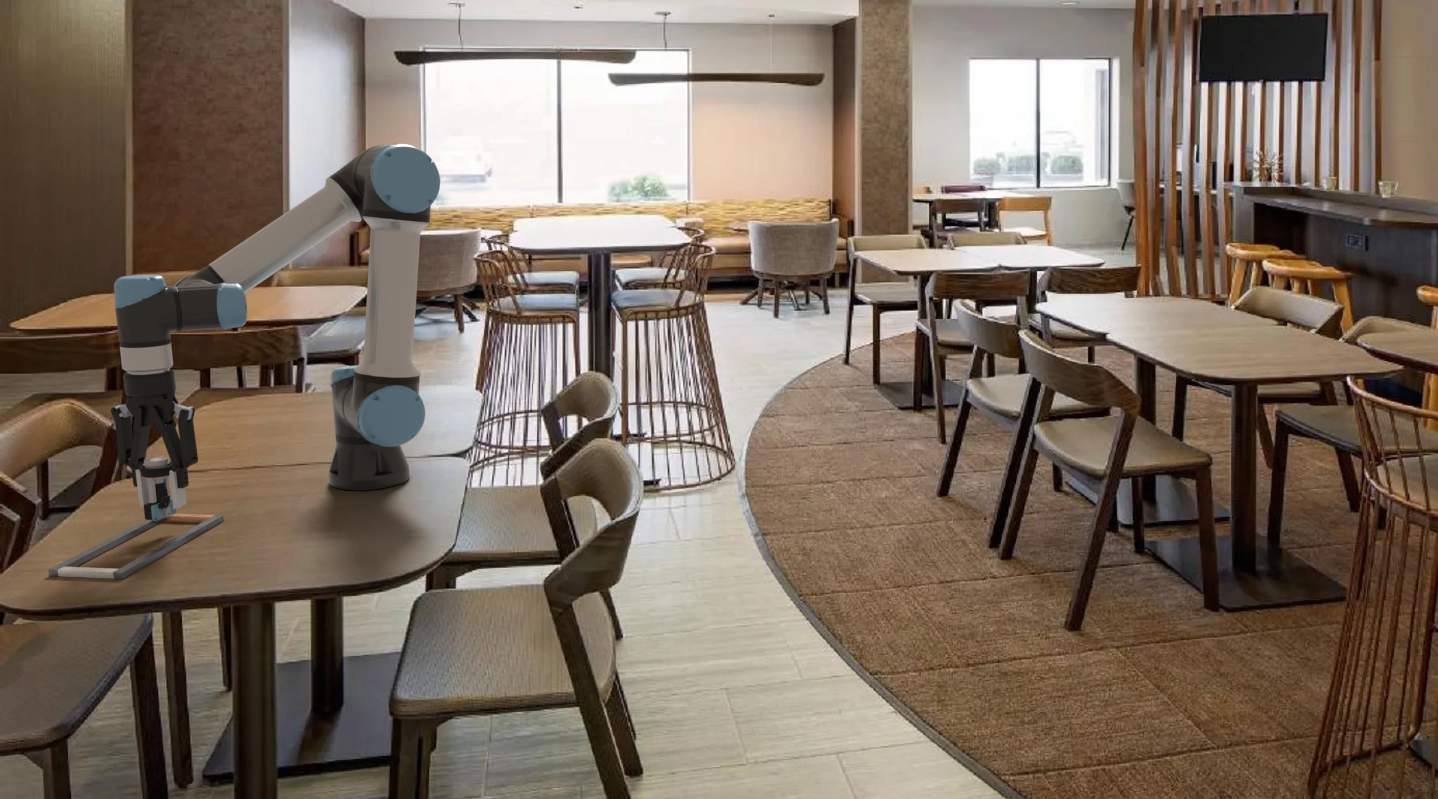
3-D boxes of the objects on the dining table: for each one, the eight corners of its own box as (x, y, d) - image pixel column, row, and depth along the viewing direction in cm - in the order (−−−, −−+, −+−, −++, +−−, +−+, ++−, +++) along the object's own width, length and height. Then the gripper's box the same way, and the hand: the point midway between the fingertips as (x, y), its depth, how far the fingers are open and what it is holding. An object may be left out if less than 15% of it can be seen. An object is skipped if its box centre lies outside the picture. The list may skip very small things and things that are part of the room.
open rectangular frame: (223, 520, 195) (223, 515, 195) (122, 578, 168) (122, 572, 168) (159, 518, 197) (159, 513, 197) (49, 575, 170) (48, 569, 169)
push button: (167, 508, 192) (162, 452, 190) (192, 511, 191) (187, 455, 189) (136, 519, 186) (130, 461, 184) (161, 523, 185) (156, 465, 182)
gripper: (213, 367, 186) (226, 500, 191) (111, 364, 188) (126, 497, 193) (187, 375, 178) (201, 514, 183) (81, 373, 181) (98, 510, 185)
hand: (163, 505), depth 188 cm, fingers closed on push button, 5 cm apart
